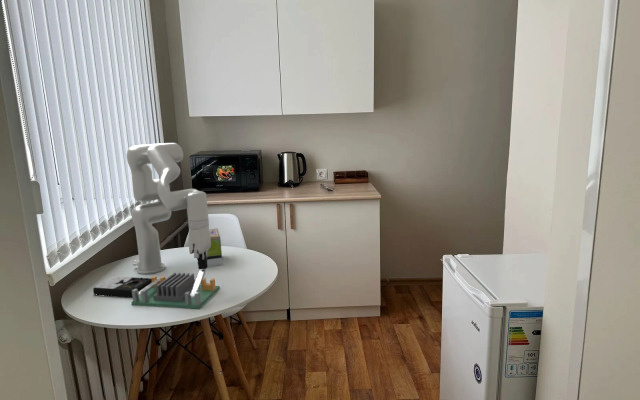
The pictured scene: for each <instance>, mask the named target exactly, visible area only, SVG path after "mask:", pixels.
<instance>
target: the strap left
mask: <svg viewBox="0 0 640 400" xmlns="http://www.w3.org/2000/svg"><path fill="white" fill-rule="evenodd" d="M160 282H161V281H160V278H157V279H156V280H155V281H153V282H152V283H150V284H149V285H148V286H146V287H145V288H143V289H142V290H144V289H147V292H148V291H149V290H150V289H152V288H153V287H155V286H156V285H157V284H159V283H160ZM142 290H140V291H139V292H137V293H136V295H138V296H142V294H141V291H142Z"/></svg>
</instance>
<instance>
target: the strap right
mask: <svg viewBox="0 0 640 400" xmlns="http://www.w3.org/2000/svg"><path fill="white" fill-rule="evenodd" d="M207 269H208V268H206V269H199V272H198V274H197V276H196V279H195V284H194V286H193V289H192V292H191V294H190V296H189V298H192V299H195V293H196V292H198V290H199V287H200V285H201V282H202V279H203V278H205V277H204V276H205V275H206V272H207Z"/></svg>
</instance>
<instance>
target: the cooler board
mask: <svg viewBox="0 0 640 400" xmlns="http://www.w3.org/2000/svg"><path fill="white" fill-rule="evenodd" d="M150 278H151V279H152V282H153V281H155V280H156V279H158V277H157V275H152V276H151V277H150ZM159 279H160V281H161V282H160V283H159V284H157V285H156V286H155V287H153V288H152V289H150V290H149V291H148V292H147V289H144V290H142V291H141V294H142V296H138V295H136V293H137V292H138V289H134V290H132V297H133V298H132V301H131V305H132V306H143V307H144V306H146V307H161V308H176V309H177V308H178V309H179V308H180V309H196V310H197V309H198V310H200V309H201V308H202V307H203V306H205V305H204V304H206V303H207V302H208V301H209V300H210V299H211V298H212V297H213V296H214V295H215V294H216V293H217V292H218V291H219V290H220V289H221V288H220V285H216V278H211V279H209V283H208V282H207V280H206V279H207V278H205V277H203V279H202V282H201V285H200V287H199V290H198V292H196V293H195V299H192V298H189V296H190V294H191V292H192V289H193V286H194V284H195V281H196V279H195V273H186V272H183V273H181V272H178V273H177V272H173V273H172V274H171V275H169V276H168V277H166V276H164V275H163V276H161V277H160V278H159Z"/></svg>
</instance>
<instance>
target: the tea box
mask: <svg viewBox="0 0 640 400" xmlns="http://www.w3.org/2000/svg"><path fill="white" fill-rule="evenodd" d="M209 232H210V239H211V247H210V248H209V250H208V251H207V265H208V267H216V266H222V265H223V253H222V252H223V251H222V242H221V241H222V240H221V235H220V233H219V229H218V228H209Z"/></svg>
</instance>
